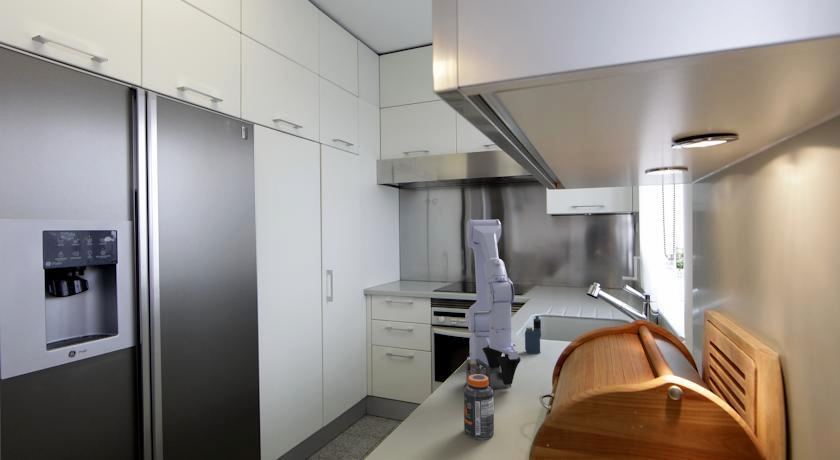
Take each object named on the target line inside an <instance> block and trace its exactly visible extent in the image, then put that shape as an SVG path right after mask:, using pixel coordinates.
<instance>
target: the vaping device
mask: <svg viewBox="0 0 840 460" xmlns="http://www.w3.org/2000/svg"><path fill="white" fill-rule="evenodd" d="M541 337H542V319H541V318H540V317H539V315H535V318H533V326H532V327H531V326H526V328H525V332H524V350H525V352H526V353H527V354H541Z"/></svg>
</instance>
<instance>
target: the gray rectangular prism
mask: <svg viewBox="0 0 840 460" xmlns="http://www.w3.org/2000/svg"><path fill="white" fill-rule="evenodd" d="M474 374H476V369H471V370H469V371H467V370H465V385H466V386H465V387H467V386H468V385H469V384H468V377H469V376H470V375H474ZM481 375H485V376H486V369H485V368H481ZM490 387H491V389H492V390H495V389H504V388H512V384H508V385H504V383H503V379H502V371H501V366H500V367H498V368H490Z"/></svg>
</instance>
